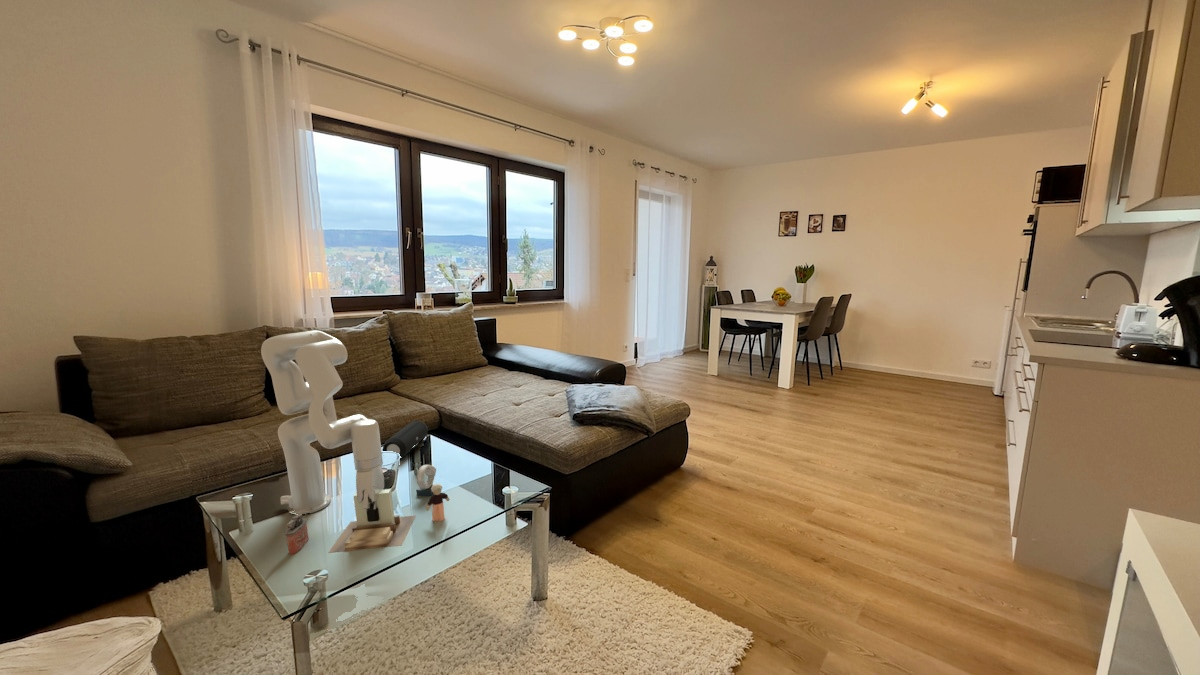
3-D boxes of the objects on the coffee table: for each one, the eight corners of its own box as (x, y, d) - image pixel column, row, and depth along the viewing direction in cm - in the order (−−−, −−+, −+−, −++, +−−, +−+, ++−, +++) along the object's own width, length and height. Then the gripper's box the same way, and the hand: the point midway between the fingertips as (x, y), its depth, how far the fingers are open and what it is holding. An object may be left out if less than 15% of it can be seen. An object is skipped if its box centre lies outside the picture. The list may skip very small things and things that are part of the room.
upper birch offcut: (350, 542, 133) (349, 537, 133) (355, 535, 137) (354, 530, 137) (386, 538, 135) (386, 533, 134) (390, 531, 138) (390, 526, 138)
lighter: (301, 541, 139) (296, 510, 137) (313, 540, 139) (308, 509, 138) (285, 558, 131) (280, 525, 129) (298, 557, 131) (292, 524, 130)
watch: (440, 490, 168) (437, 461, 166) (429, 501, 160) (425, 471, 158) (426, 489, 169) (423, 460, 167) (414, 500, 161) (410, 470, 159)
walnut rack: (328, 556, 131) (326, 544, 131) (351, 524, 147) (349, 514, 146) (402, 548, 134) (400, 537, 133) (416, 518, 149) (415, 508, 149)
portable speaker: (404, 463, 192) (402, 440, 190) (381, 463, 193) (378, 440, 191) (430, 439, 217) (428, 418, 215) (409, 439, 218) (407, 419, 216)
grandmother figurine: (434, 528, 143) (430, 490, 141) (426, 525, 145) (422, 487, 143) (454, 516, 150) (450, 479, 148) (446, 513, 152) (442, 477, 150)
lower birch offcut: (345, 548, 133) (344, 543, 133) (350, 539, 137) (350, 535, 137) (388, 543, 135) (388, 538, 134) (393, 535, 139) (392, 530, 138)
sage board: (358, 532, 141) (353, 495, 138) (361, 528, 143) (356, 491, 141) (392, 529, 142) (388, 492, 140) (395, 524, 144) (391, 488, 142)
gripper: (365, 451, 146) (371, 505, 149) (344, 474, 130) (352, 534, 133) (390, 449, 147) (396, 503, 150) (372, 472, 131) (379, 531, 134)
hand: (375, 517), depth 142 cm, fingers closed on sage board, 2 cm apart
